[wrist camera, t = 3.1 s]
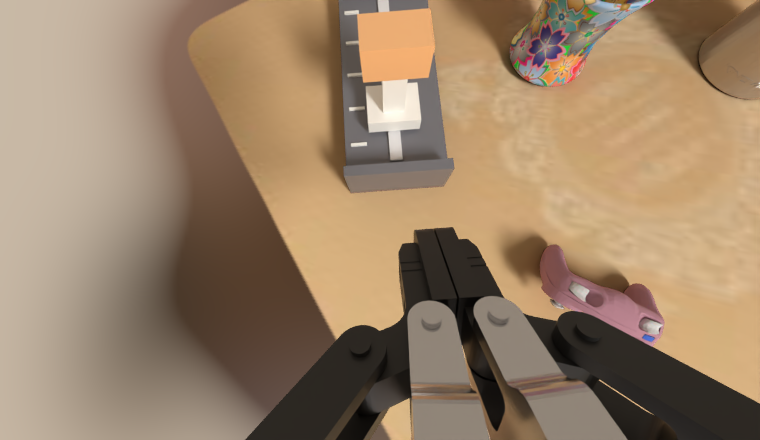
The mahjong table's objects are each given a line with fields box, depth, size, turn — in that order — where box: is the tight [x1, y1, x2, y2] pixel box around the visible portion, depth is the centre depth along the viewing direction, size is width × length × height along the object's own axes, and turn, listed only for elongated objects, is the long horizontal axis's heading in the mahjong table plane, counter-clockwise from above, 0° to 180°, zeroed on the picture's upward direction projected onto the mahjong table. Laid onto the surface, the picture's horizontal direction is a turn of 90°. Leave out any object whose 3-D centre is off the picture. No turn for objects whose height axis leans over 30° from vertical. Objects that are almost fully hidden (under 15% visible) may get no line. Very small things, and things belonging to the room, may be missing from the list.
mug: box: [510, 0, 654, 87], centre depth 28 cm, size 12×9×11 cm
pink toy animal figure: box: [540, 245, 664, 346], centre depth 25 cm, size 10×5×7 cm, turn 63°
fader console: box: [339, 0, 454, 193], centre depth 30 cm, size 24×10×5 cm, turn 4°
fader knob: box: [357, 8, 435, 133], centre depth 23 cm, size 4×5×10 cm
